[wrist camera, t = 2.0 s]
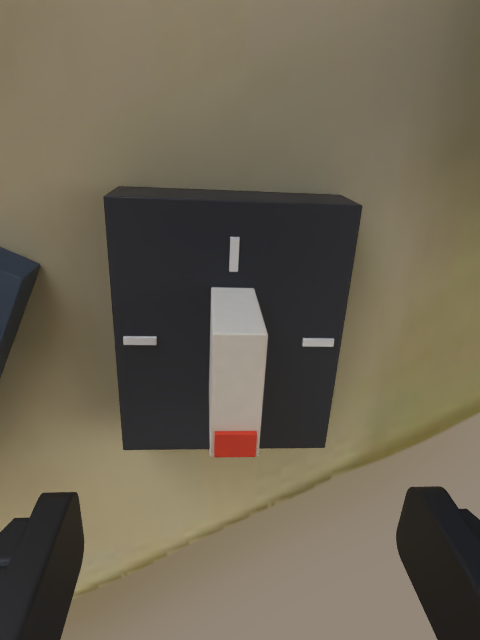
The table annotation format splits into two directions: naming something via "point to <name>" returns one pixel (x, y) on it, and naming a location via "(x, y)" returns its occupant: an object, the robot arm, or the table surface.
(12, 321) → the switch block
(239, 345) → the white rectangular block
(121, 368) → the dial panel
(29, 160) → the table surface
